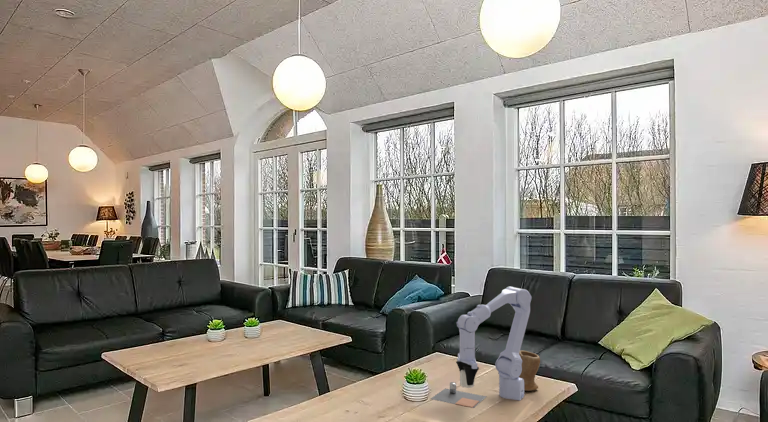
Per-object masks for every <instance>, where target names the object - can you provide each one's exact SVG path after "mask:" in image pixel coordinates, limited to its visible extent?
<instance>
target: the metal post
mask: <svg viewBox="0 0 768 422" xmlns="http://www.w3.org/2000/svg"><path fill="white" fill-rule="evenodd" d="M449 389H450V394H456V391H457V383H456V382H454V381H451V382H449Z"/></svg>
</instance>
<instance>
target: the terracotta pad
mask: <svg viewBox="0 0 768 422" xmlns="http://www.w3.org/2000/svg"><path fill="white" fill-rule="evenodd" d="M477 403H479V401H477V400H472V399H467V398H461V399H460V400H459V401H457V402H456V403H455V404H454V405H456V404H457V405H456V406H461V405H462V407H466V406H467V408H471V409H474V408H473V407H474V406H475V405H476V404H477ZM479 404H480V403H479Z"/></svg>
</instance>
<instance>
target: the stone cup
mask: <svg viewBox="0 0 768 422" xmlns="http://www.w3.org/2000/svg"><path fill="white" fill-rule="evenodd" d="M519 355H520V357H521V359H522V372H521V374H520V376H519V378H522V379H524V392H525V391H530V392H531V391H536V390H538V389H539V385H538V384H537V383H536V382H535V378H536V375H537V372H538V370H539V368H540V365H541V358H540V356H539V355H538V354H536V353H535V352H531V351H528V350H523V349H522V350H521V349H520V352H519Z"/></svg>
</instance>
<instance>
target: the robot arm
mask: <svg viewBox="0 0 768 422" xmlns="http://www.w3.org/2000/svg"><path fill="white" fill-rule="evenodd" d="M532 298H533V297H532V295H531V293H530V291H528V290H527V289H525V288H520V287H515V286H512V285H511V286H509V285H508V286H507V287H506V288H504V289H502V290H501V293H499V294H497V296H495V297H494V298H493V299H492V300H490V301H489V302H487V304H477V305H476V307H475V308H473V309H472V310H471V311H468V312H467V314H461V315H460V316H459V317H458V319H457V321H456V322H455V323H456V327H457V328H458V331H459V352H458V353H457V358H456V361H455V362H456V364H457V369H458V371H459V373H460V372H461V370H463V369H464V370H465V374H466V380H467V385H473V383H474V384H475V378H476V375H477V373H478V371H479V369H480V367H479V366H478V362H477V360H476V350H475V349H476V348H475V346H476V342H475V341H476V340H475V339H476V334H475V333H476V331H477V330H478V327H479V325H480V324H482V323H483V322H484V321H487V320H488V319H489V318H490V317H491V314H492V313H493V312H494V311H496V310H498V309H499V308H501V307H502V306H504V305H506V304H510V306H511V307H512V310H514V312H515V313H514V317H513V319H512V324H511V327H510V330H509V331H510V332H509V335H508V338H507V342H506V345H505V349H504V350H502V351H501V352H500V353H499V356H498V358H497V359H496V361H495V363H494V365H495V369H496V371H497V373H498V376H499V377H498V379H499V380H498V381H499V383H498V385H499V386H498V387H499V389H498V393H499V397H500V398H503V399H507V400H515V401H521V400H522V399H524V397H525V390H524V379H522V378H519V376H520V374H521V372H522V359H521V357H520V355H519V352H520V351H521V349H522V344H523V340H524V338H525V333H526V329H527V325H528V322H529V318H530V314H531V301H532Z"/></svg>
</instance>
